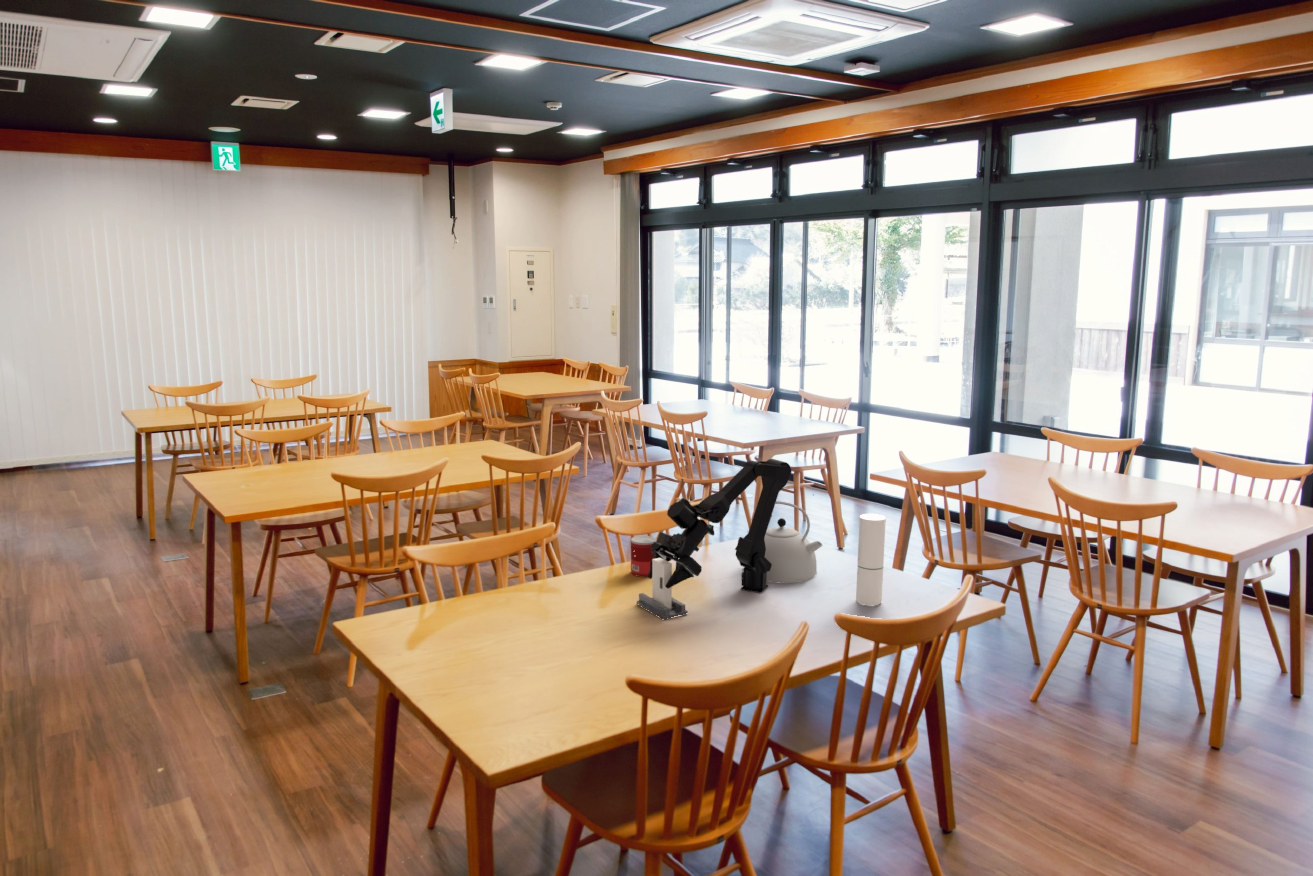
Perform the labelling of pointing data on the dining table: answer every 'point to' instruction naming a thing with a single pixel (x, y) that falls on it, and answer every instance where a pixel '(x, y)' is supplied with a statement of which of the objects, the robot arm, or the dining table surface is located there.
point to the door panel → (661, 581)
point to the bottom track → (661, 607)
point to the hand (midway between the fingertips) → (657, 582)
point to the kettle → (790, 552)
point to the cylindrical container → (870, 559)
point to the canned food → (641, 555)
